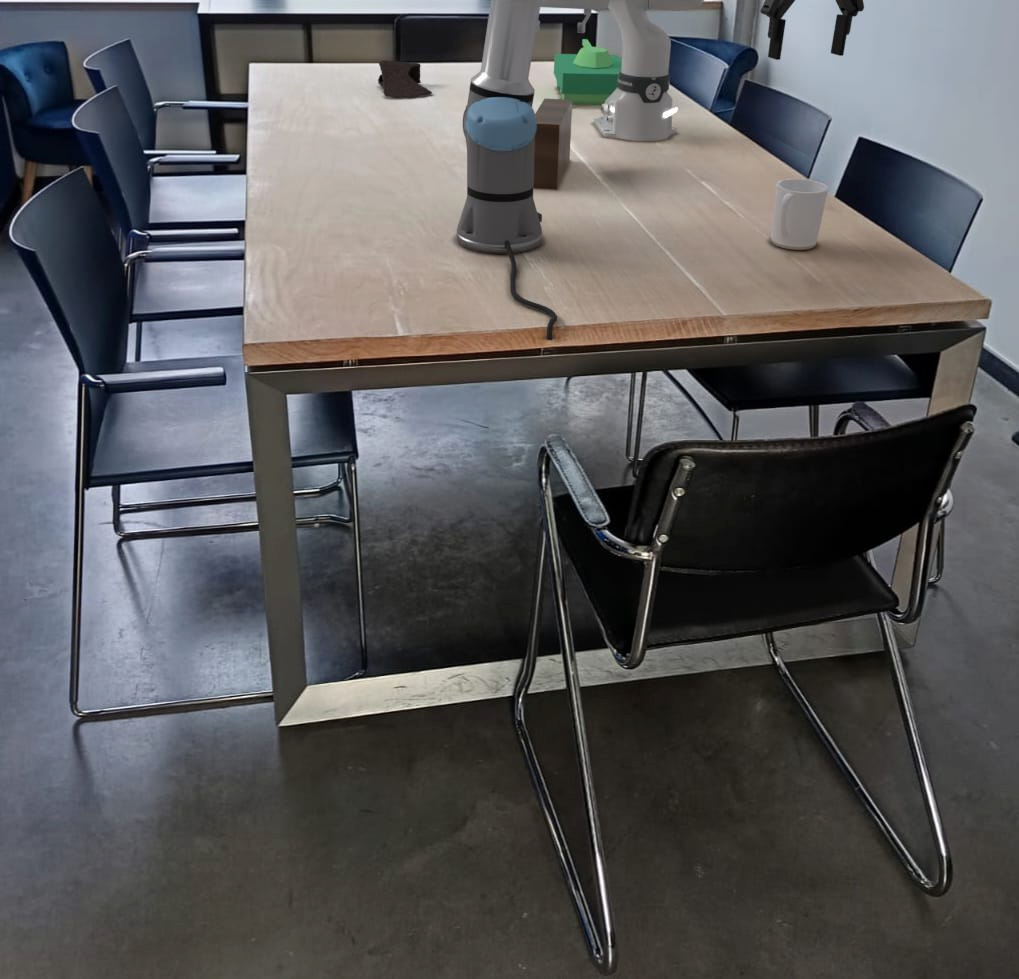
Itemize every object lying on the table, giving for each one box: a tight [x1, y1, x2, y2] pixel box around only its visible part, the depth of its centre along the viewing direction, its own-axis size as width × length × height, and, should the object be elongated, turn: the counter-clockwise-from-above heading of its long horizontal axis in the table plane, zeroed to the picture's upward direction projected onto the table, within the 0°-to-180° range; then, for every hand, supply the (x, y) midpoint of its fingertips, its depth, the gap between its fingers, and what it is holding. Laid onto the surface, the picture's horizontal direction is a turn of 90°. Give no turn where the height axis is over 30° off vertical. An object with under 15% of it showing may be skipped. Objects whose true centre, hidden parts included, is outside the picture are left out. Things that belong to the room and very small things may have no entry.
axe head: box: [377, 59, 433, 99], centre depth 299 cm, size 18×8×15 cm
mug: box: [770, 178, 829, 251], centre depth 194 cm, size 11×9×10 cm
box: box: [533, 98, 573, 191], centre depth 230 cm, size 23×6×13 cm, turn 171°
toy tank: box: [553, 38, 622, 106], centre depth 299 cm, size 18×12×35 cm
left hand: (805, 56), depth 196 cm, fingers open, 13 cm apart
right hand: (558, 31), depth 225 cm, fingers open, 8 cm apart
